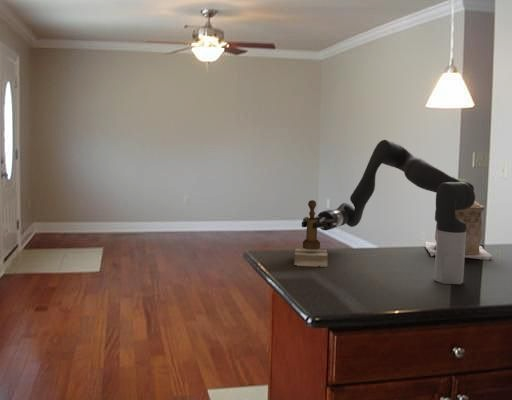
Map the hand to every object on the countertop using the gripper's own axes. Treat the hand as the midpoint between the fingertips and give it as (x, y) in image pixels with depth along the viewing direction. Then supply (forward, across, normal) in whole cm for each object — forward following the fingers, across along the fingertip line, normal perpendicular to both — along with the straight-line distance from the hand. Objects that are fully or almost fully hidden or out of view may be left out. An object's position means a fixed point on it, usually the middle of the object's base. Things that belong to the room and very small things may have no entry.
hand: (308, 225), depth 214 cm
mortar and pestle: (-3, 0, +9) cm, 10 cm away
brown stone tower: (-59, +38, +16) cm, 72 cm away
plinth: (-2, 0, +15) cm, 15 cm away
